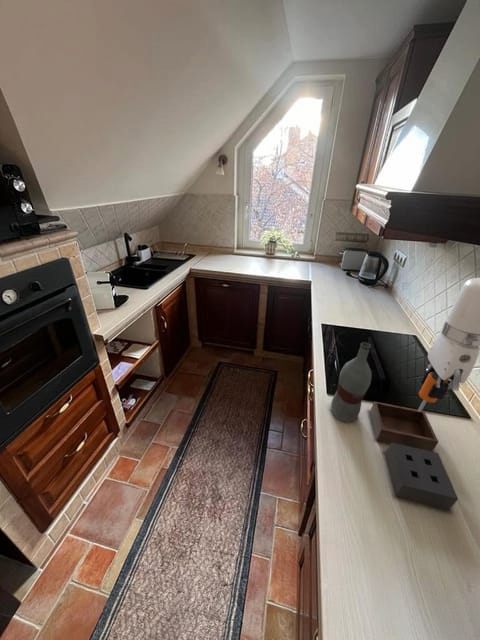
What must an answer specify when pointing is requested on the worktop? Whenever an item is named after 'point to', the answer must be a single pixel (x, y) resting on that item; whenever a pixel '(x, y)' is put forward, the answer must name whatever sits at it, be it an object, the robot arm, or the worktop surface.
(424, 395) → the screwdriver
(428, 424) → the tool tray
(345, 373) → the bottle
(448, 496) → the holder
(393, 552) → the worktop surface
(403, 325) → the worktop surface
